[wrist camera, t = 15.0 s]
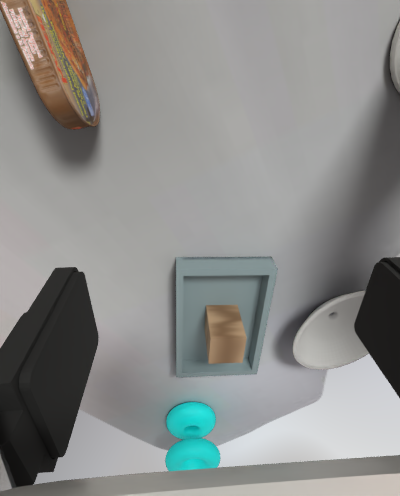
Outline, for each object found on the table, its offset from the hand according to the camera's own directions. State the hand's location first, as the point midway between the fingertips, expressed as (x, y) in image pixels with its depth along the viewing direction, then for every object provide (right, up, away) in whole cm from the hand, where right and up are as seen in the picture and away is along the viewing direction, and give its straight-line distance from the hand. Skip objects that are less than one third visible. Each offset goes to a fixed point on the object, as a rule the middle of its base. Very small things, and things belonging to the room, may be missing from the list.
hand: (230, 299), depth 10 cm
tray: (+2, -9, +39) cm, 41 cm away
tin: (-14, +22, +20) cm, 33 cm away
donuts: (-3, -33, +53) cm, 62 cm away
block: (+2, -9, +39) cm, 40 cm away
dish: (+21, -9, +41) cm, 47 cm away
